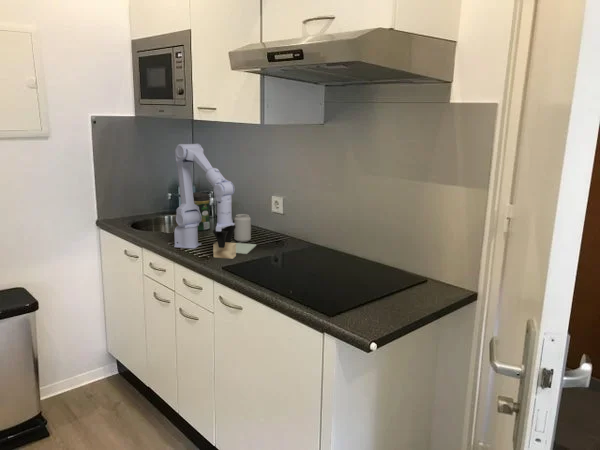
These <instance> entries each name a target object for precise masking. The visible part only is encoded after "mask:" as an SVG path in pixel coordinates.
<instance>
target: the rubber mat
mask: <svg viewBox="0 0 600 450" xmlns="http://www.w3.org/2000/svg"><path fill="white" fill-rule="evenodd" d="M235 243H236V254H243V255H247V254H248V253H250V252H251V251H252V250H253V249H254V248H255V247H256V246H257V244H255V243H245V242H235Z"/></svg>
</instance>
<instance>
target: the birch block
mask: <svg viewBox="0 0 600 450" xmlns="http://www.w3.org/2000/svg"><path fill="white" fill-rule="evenodd" d="M236 243H237V242H231V243H229V242H225V247H224V248H219V246H218V242H217V241H216V242H214V243H213V244H212V245H213V248H212V252H213V253H212V254H213V258H216V259H217V258H218V259H234V258H235V257H236V256H237V253H236Z"/></svg>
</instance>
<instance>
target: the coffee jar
mask: <svg viewBox="0 0 600 450" xmlns="http://www.w3.org/2000/svg"><path fill="white" fill-rule="evenodd" d="M193 198H194V204H196V205H197V206H198V207H199V211H200V213H201V217H202V218H201V222H200V223H199V226H198V231H199V232H200V231H202V232H205V231H208V230H210V229H211V222H210V195H209V194H208V193H203V192H201V191H195V192H194V191H193ZM190 211H192V210H190Z"/></svg>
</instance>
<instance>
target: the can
mask: <svg viewBox="0 0 600 450" xmlns="http://www.w3.org/2000/svg"><path fill="white" fill-rule="evenodd" d="M233 221H234V222H233V223H235V226H236V227H235V229H234V231H233V234H234V237H233V238H234V240H235V241H236V242H237V243H246V242H249V241H250V240H252V235H251V234H252V218H251V217H250V215H249V214H247V213H239V214H236V215H235V217H234V219H233Z"/></svg>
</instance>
